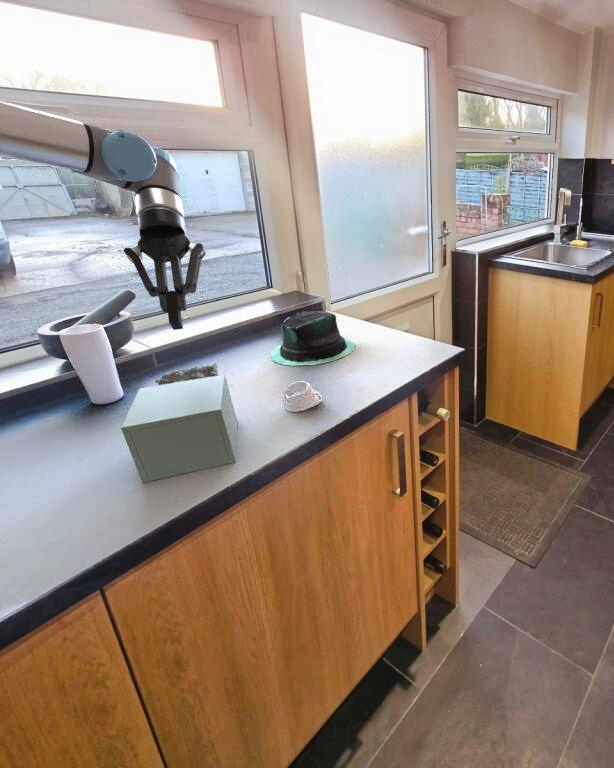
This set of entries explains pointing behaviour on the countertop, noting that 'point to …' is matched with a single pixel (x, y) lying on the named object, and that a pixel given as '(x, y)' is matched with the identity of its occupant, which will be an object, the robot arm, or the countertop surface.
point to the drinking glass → (93, 361)
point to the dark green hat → (311, 340)
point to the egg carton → (188, 374)
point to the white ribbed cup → (300, 397)
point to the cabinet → (181, 428)
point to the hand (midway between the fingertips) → (176, 325)
